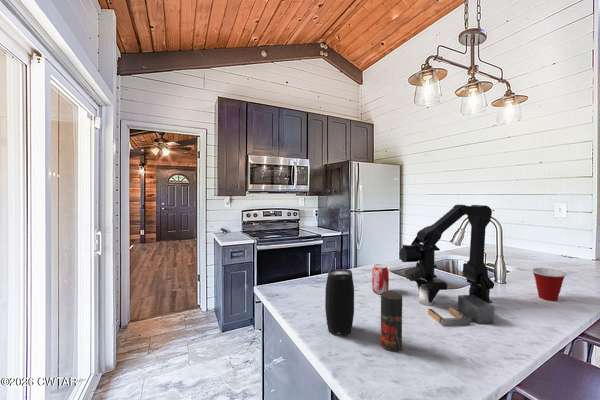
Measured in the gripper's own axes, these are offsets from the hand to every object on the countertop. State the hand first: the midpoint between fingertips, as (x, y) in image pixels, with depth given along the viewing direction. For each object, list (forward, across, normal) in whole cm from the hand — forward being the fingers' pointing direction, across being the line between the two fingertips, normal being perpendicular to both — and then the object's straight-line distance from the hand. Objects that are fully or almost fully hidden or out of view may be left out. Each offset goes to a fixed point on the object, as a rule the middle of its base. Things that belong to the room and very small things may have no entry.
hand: (426, 299), depth 109 cm
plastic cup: (+2, 0, +54) cm, 54 cm away
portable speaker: (+2, +18, -40) cm, 44 cm away
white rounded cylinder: (+2, 0, 0) cm, 2 cm away
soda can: (+2, -13, -14) cm, 19 cm away
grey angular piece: (+1, +12, +5) cm, 13 cm away
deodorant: (+2, +28, -27) cm, 39 cm away
